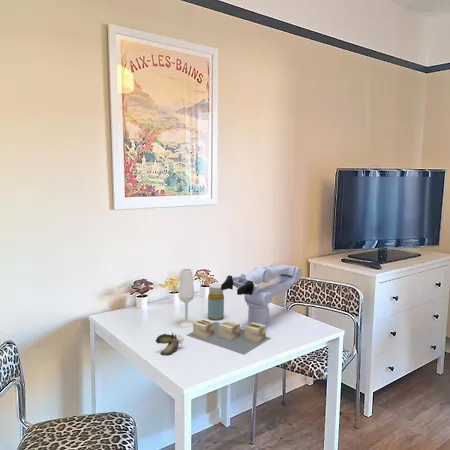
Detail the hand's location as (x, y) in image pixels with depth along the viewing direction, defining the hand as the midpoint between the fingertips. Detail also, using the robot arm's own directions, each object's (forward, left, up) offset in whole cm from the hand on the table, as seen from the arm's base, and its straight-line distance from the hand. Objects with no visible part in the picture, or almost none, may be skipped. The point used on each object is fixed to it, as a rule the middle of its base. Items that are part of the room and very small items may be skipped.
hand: (229, 289), depth 161 cm
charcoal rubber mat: (-2, -2, -20) cm, 21 cm away
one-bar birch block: (-8, +7, -20) cm, 23 cm away
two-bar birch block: (+2, -11, -20) cm, 23 cm away
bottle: (-16, -19, -21) cm, 32 cm away
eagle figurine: (+21, -12, -21) cm, 31 cm away
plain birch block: (-3, -2, -20) cm, 20 cm away
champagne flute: (-2, -24, -21) cm, 32 cm away
